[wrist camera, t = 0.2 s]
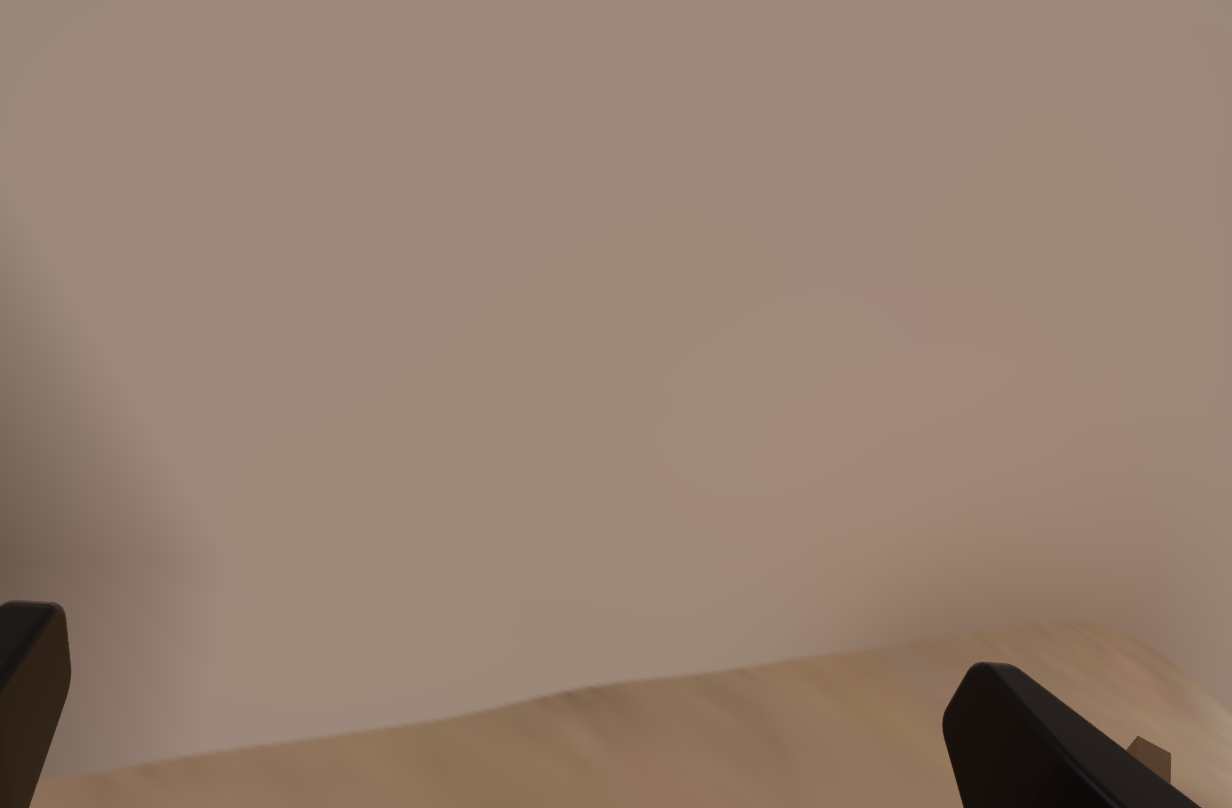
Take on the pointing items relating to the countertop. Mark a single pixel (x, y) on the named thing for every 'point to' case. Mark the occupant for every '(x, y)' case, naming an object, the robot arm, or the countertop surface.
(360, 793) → the countertop surface
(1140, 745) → the board
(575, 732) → the countertop surface
